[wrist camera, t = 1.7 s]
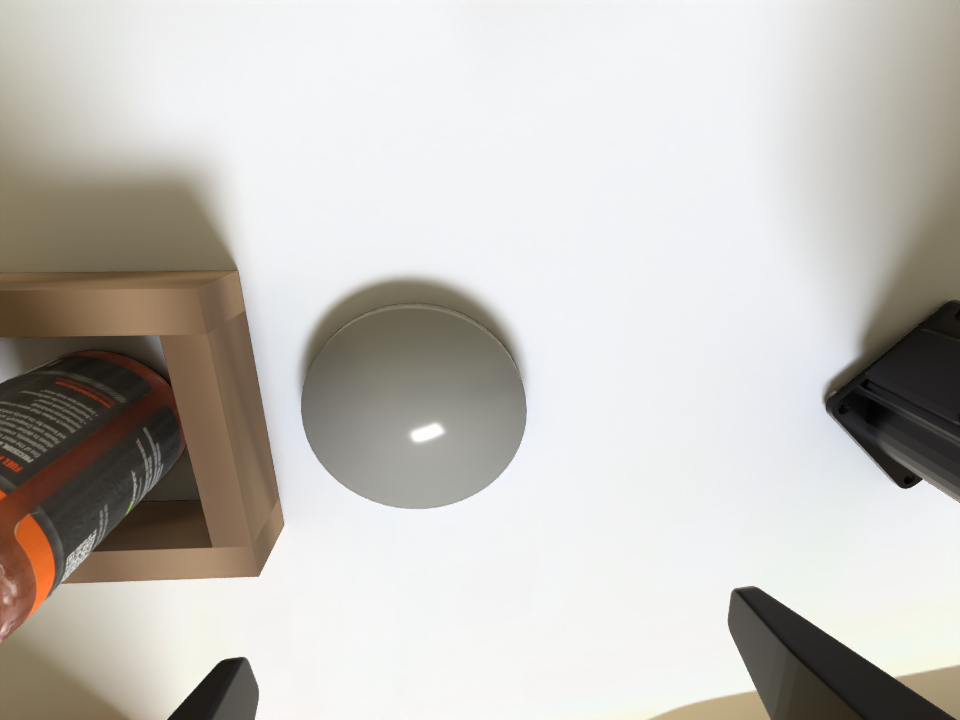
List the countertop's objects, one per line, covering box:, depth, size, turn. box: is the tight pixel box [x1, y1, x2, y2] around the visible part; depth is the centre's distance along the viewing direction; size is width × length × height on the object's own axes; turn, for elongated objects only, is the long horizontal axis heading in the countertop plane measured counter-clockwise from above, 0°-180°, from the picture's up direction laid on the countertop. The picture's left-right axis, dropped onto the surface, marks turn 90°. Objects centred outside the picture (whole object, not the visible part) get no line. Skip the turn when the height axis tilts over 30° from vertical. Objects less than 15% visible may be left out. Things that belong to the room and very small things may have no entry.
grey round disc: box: [301, 303, 527, 509], centre depth 20 cm, size 9×9×1 cm
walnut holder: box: [0, 271, 284, 584], centre depth 18 cm, size 12×12×3 cm
